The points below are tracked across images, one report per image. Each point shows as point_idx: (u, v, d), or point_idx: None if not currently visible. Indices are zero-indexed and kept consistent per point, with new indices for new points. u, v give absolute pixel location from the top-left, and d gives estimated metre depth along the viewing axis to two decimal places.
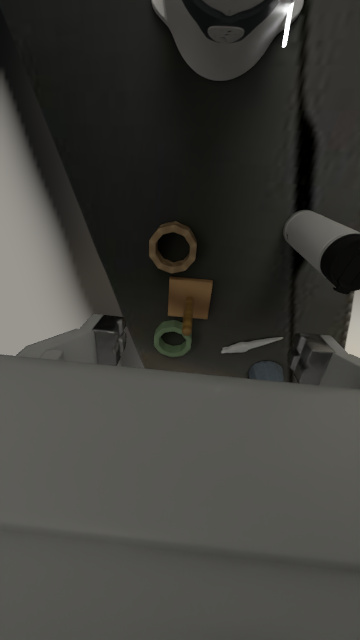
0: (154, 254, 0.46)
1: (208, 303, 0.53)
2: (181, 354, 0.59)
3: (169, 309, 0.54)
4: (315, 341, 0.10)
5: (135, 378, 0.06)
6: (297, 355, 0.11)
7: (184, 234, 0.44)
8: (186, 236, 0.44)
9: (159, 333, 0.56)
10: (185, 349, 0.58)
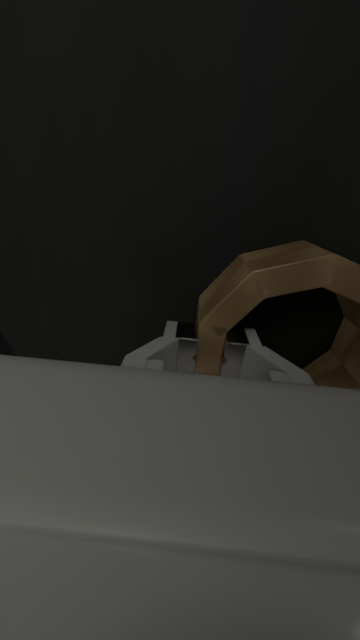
0: (214, 373, 0.11)
1: None
2: None
3: None
4: (235, 334, 0.10)
5: (135, 378, 0.06)
6: None
7: None
8: None
9: None
10: None
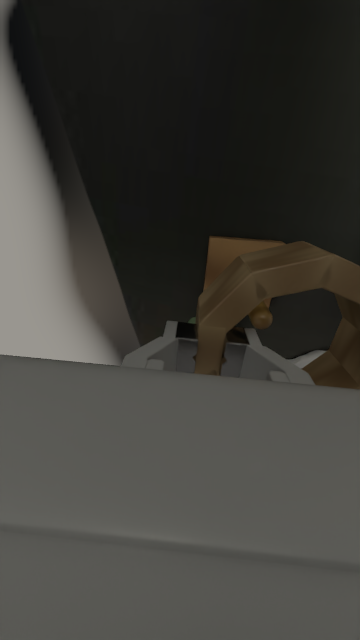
0: (214, 373, 0.11)
1: None
2: None
3: None
4: (235, 334, 0.10)
5: (135, 378, 0.06)
6: None
7: None
8: None
9: None
10: None
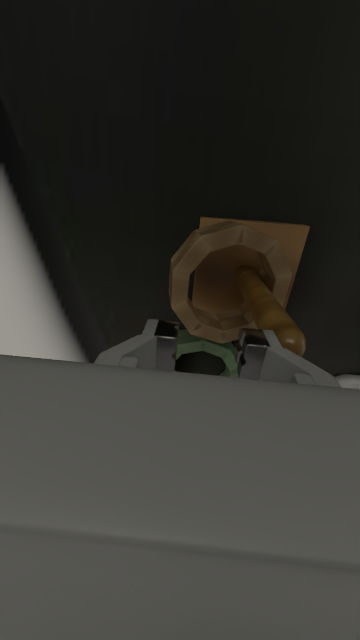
0: (184, 303, 0.18)
1: (290, 283, 0.22)
2: None
3: (195, 299, 0.23)
4: (254, 335, 0.10)
5: (135, 378, 0.06)
6: (240, 350, 0.11)
7: (266, 250, 0.17)
8: (269, 255, 0.17)
9: None
10: None
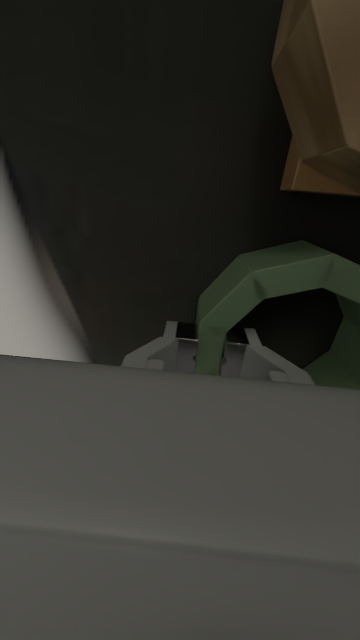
0: None
1: None
2: None
3: None
4: (235, 334, 0.10)
5: (135, 378, 0.06)
6: None
7: None
8: None
9: (233, 304, 0.10)
10: None
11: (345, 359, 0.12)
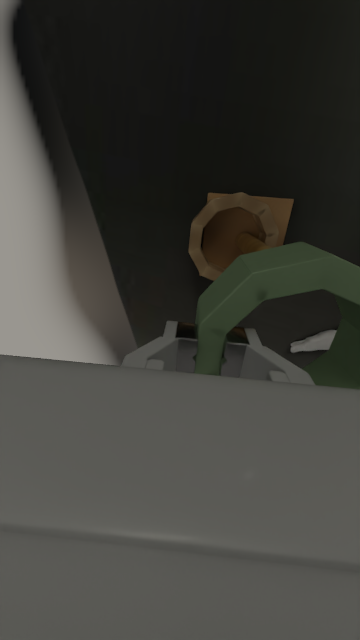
0: (197, 250, 0.25)
1: None
2: None
3: None
4: (235, 334, 0.10)
5: (135, 378, 0.06)
6: None
7: (259, 212, 0.23)
8: (261, 216, 0.24)
9: (233, 305, 0.10)
10: None
11: (344, 360, 0.12)
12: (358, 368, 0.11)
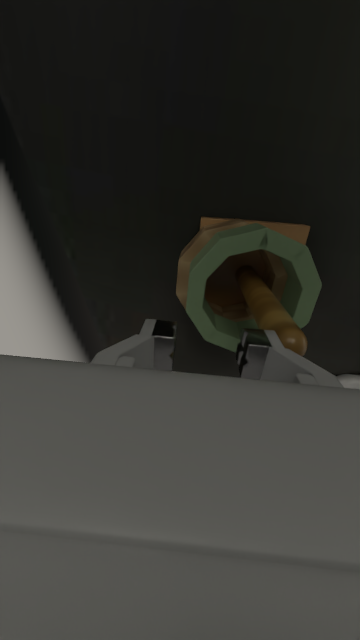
0: None
1: None
2: None
3: None
4: (256, 336, 0.10)
5: (135, 378, 0.06)
6: (241, 350, 0.11)
7: None
8: (269, 252, 0.18)
9: (210, 260, 0.16)
10: None
11: (287, 303, 0.18)
12: (293, 305, 0.17)
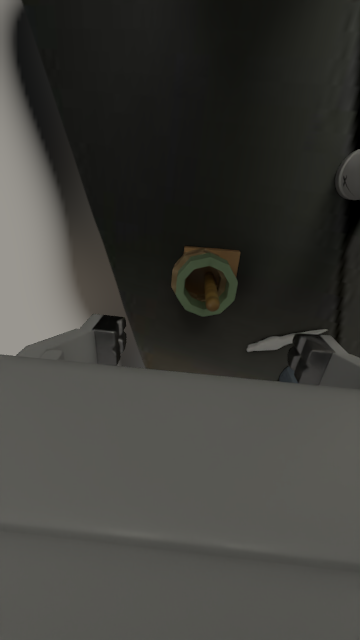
0: None
1: None
2: (218, 311, 0.37)
3: None
4: (315, 341, 0.10)
5: (135, 378, 0.06)
6: (296, 355, 0.11)
7: None
8: None
9: (186, 270, 0.34)
10: (226, 301, 0.36)
11: (226, 291, 0.37)
12: (227, 292, 0.36)
